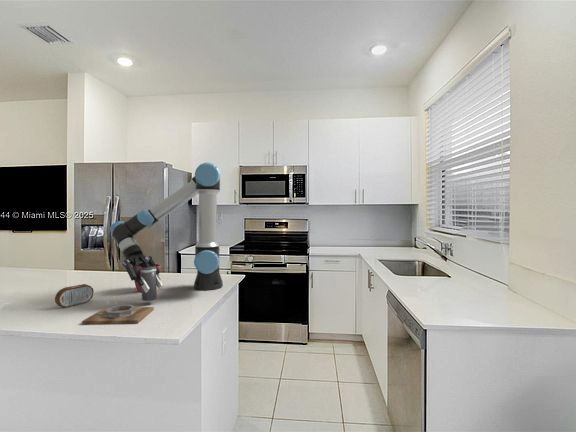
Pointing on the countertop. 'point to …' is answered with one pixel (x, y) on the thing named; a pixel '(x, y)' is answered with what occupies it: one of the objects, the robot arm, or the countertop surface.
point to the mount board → (120, 320)
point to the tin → (74, 295)
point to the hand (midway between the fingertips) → (154, 288)
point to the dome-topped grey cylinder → (149, 283)
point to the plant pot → (138, 287)
